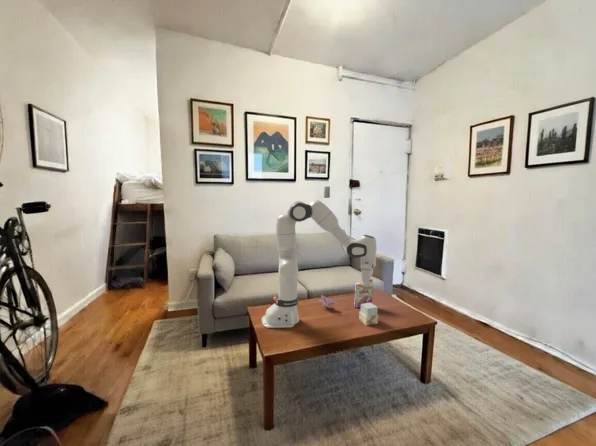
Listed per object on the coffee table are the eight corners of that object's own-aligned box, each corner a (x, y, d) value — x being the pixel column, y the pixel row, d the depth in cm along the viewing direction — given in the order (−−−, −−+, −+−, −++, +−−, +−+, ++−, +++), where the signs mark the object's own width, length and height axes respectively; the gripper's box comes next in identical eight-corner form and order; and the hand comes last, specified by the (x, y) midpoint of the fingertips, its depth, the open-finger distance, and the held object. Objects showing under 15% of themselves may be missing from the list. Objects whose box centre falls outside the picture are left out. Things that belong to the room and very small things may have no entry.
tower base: (365, 325, 157) (366, 317, 157) (358, 319, 165) (359, 311, 164) (377, 323, 160) (378, 315, 159) (370, 317, 167) (370, 310, 167)
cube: (371, 290, 158) (371, 282, 157) (362, 289, 160) (362, 281, 159) (372, 287, 162) (372, 279, 162) (364, 286, 164) (364, 278, 164)
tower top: (367, 316, 157) (367, 308, 157) (360, 311, 164) (360, 304, 163) (377, 315, 160) (377, 307, 159) (370, 310, 166) (370, 302, 166)
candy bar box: (354, 308, 181) (355, 284, 179) (354, 304, 186) (355, 281, 184) (371, 309, 180) (373, 285, 178) (370, 305, 185) (371, 282, 183)
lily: (339, 313, 174) (340, 298, 178) (326, 310, 168) (327, 295, 171) (325, 312, 183) (327, 298, 187) (313, 310, 177) (314, 295, 180)
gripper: (365, 257, 170) (365, 279, 172) (359, 266, 151) (359, 289, 153) (375, 258, 167) (375, 280, 169) (371, 267, 149) (370, 291, 150)
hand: (367, 285), depth 161 cm, fingers closed on cube, 5 cm apart
